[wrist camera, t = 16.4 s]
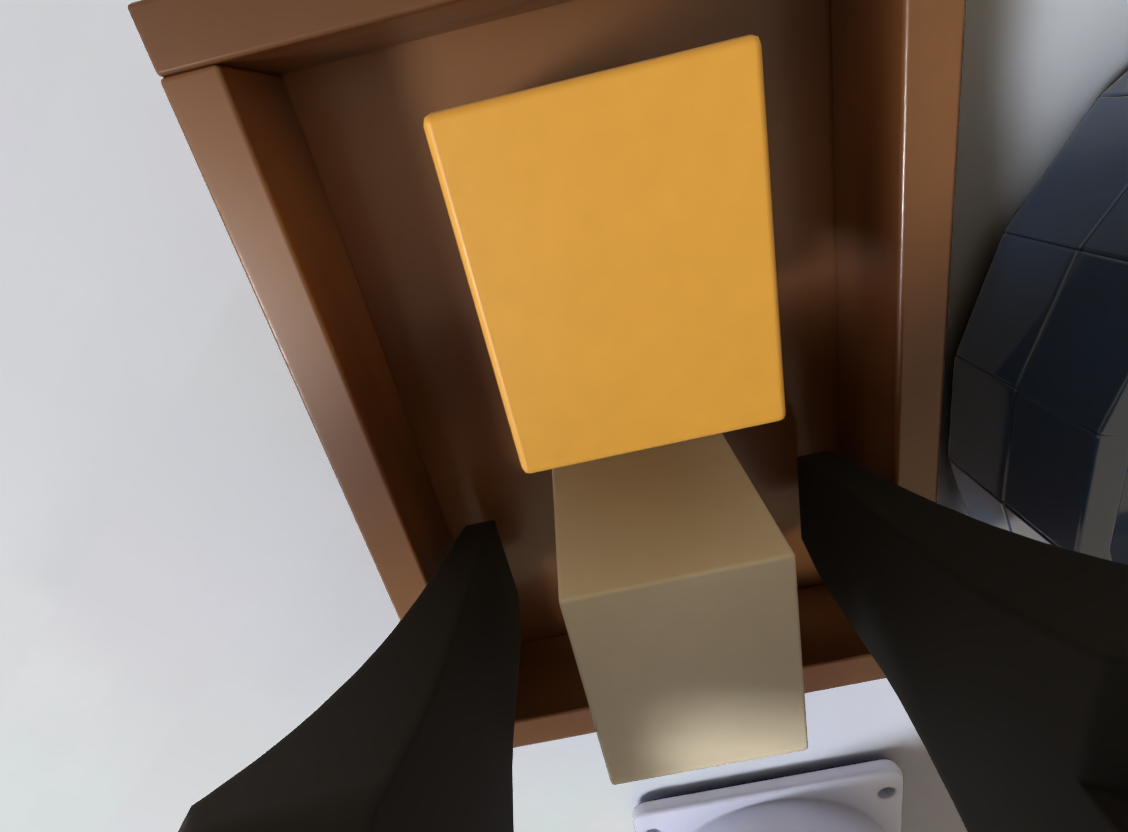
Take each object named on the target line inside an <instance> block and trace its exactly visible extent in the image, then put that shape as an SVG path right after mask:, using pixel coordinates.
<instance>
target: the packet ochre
mask: <svg viewBox="0 0 1128 832" xmlns="http://www.w3.org/2000/svg"><path fill="white" fill-rule="evenodd" d="M423 127H424V131H425V134H426V138H427V141H428V145H429V148H430V151H431V155H432V158H433V162H434V165H435V169H436V172H437V176H438V179H439V183H440V186H441V190H442V193H443V197H444V200H445V203H446V207H447V210H448V214H449V217H450V221H451V224H452V228H453V231H454V235H455V238H456V242H457V245H458V249H459V252H460V256H461V259H462V262H463V266H464V269H465V273H466V276H467V280H468V283H469V287H470V290H471V294H472V297H473V301H474V304H475V308H476V311H477V314H478V318H479V321H480V325H481V328H482V332H483V335H484V339H485V342H486V346H487V349H488V353H489V356H490V360H491V363H492V367H493V370H494V373H495V377H496V380H497V384H498V387H499V391H500V394H501V398H502V401H503V405H504V408H505V412H506V415H507V419H508V422H509V425H510V429H511V432H512V436H513V439H514V443H515V446H516V450H517V453H518V457H519V460H520V464H521V467H522V469H523V470H524V471H525V472H526V473H535V472H539V471H544V470H549V469H553V468H558V467H563V466H568V465H572V464H577V463H582V462H587V461H591V460H596V459H601V458H605V457H610V456H615V455H620V454H624V453H629V452H634V451H639V450H643V449H648V448H653V447H657V446H662V445H667V444H672V443H676V442H681V441H686V440H691V439H695V438H700V437H705V436H709V435H714V434H719V433H724V432H728V431H733V430H738V429H743V428H747V427H752V426H757V425H761V424H766V423H771V422H776V421H780V420H782V419H784V417H785V413H786V409H785V394H784V379H783V363H782V348H781V333H780V318H779V303H778V288H777V272H776V257H775V242H774V227H773V212H772V197H771V181H770V166H769V151H768V136H767V121H766V106H765V90H764V75H763V60H762V45H761V42H760V40H759V37H758V36H755V35H746V36H742V37H738V38H734V39H730V40H726V41H721V42H717V43H713V44H709V45H705V46H701V47H697V48H693V49H689V50H685V51H681V52H677V53H673V54H669V55H664V56H660V57H656V58H652V59H648V60H644V61H640V62H636V63H632V64H628V65H624V66H620V67H616V68H612V69H607V70H603V71H599V72H595V73H591V74H587V75H583V76H579V77H575V78H571V79H567V80H563V81H559V82H555V83H550V84H546V85H542V86H538V87H534V88H530V89H526V90H522V91H518V92H514V93H510V94H506V95H502V96H498V97H493V98H489V99H485V100H481V101H477V102H473V103H469V104H465V105H461V106H457V107H453V108H449V109H445V110H440V111H436V112H432V113H430V114H428V115H427V116H426V117H425V118H424V124H423Z"/></svg>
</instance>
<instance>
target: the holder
mask: <svg viewBox="0 0 1128 832" xmlns="http://www.w3.org/2000/svg"><path fill="white" fill-rule="evenodd" d="M128 9H129V12H130V14H131V16H132V18H133V21H134V23H135V25H136V27H137V30H138V32H139V34H140V36H141V39H142V41H143V43H144V45H145V48H146V50H147V52H148V54H149V57H150V59H151V61H152V63H153V66H154V68H155V70H156V72H157V74H158V75H159V76H161V77H164V78H163V79H162V80H161V83H162V86H163V88H164V90H165V93H166V95H167V97H168V99H169V102H170V104H171V106H172V108H173V111H174V113H175V115H176V117H177V120H178V122H179V124H180V126H181V129H182V131H183V133H184V135H185V138H186V140H187V142H188V144H189V147H190V149H191V151H192V153H193V156H194V158H195V160H196V162H197V165H198V167H199V169H200V171H201V174H202V176H203V178H204V180H205V182H206V185H207V187H208V189H209V191H210V194H211V196H212V198H213V200H214V203H215V205H216V207H217V209H218V212H219V214H220V216H221V218H222V221H223V223H224V225H225V227H226V230H227V232H228V234H229V236H230V239H231V241H232V243H233V245H234V248H235V250H236V252H237V254H238V257H239V259H240V261H241V263H242V266H243V268H244V270H245V272H246V275H247V277H248V279H249V281H250V284H251V286H252V288H253V290H254V293H255V295H256V297H257V299H258V302H259V304H260V306H261V308H262V311H263V313H264V315H265V317H266V320H267V322H268V324H269V326H270V329H271V331H272V333H273V335H274V338H275V340H276V342H277V344H278V347H279V349H280V351H281V353H282V356H283V358H284V360H285V362H286V364H287V367H288V369H289V371H290V373H291V376H292V378H293V380H294V382H295V385H296V387H297V389H298V391H299V394H300V396H301V398H302V400H303V403H304V405H305V407H306V409H307V412H308V414H309V416H310V418H311V421H312V423H313V425H314V427H315V430H316V432H317V434H318V436H319V439H320V441H321V443H322V445H323V448H324V450H325V452H326V454H327V457H328V459H329V461H330V463H331V466H332V468H333V470H334V472H335V475H336V477H337V479H338V481H339V484H340V486H341V488H342V490H343V493H344V495H345V497H346V499H347V502H348V504H349V506H350V508H351V511H352V513H353V515H354V517H355V520H356V522H357V524H358V526H359V529H360V531H361V533H362V535H363V538H364V540H365V542H366V544H367V546H368V549H369V551H370V553H371V555H372V558H373V560H374V562H375V564H376V567H377V569H378V571H379V573H380V576H381V578H382V580H383V582H384V585H385V587H386V589H387V591H388V594H389V596H390V598H391V600H392V603H393V605H394V607H395V609H396V612H397V614H398V616H399V618H400V621H401V620H402V618H403V617H404V616H405V614H406V613H407V612H408V610H409V609H410V608H411V606H412V605H413V604H414V602H415V601H416V600H417V598H418V597H419V596H420V594H421V593H422V591H423V590H424V588H425V587H426V585H427V584H428V582H429V581H430V579H431V578H432V576H433V575H434V573H435V572H436V570H437V569H438V567H439V566H440V564H441V563H442V561H443V560H444V558H445V557H446V555H447V553H448V552H449V550H450V549H451V547H452V546H453V544H454V542H455V541H456V539H457V538H458V536H459V535H460V533H461V532H462V530H463V529H464V527H465V526H466V525H471V524H476V523H481V522H486V521H491V520H495V524H496V527H497V530H498V533H499V536H500V539H501V542H502V545H503V548H504V551H505V554H506V557H507V560H508V564H509V567H510V570H511V573H512V576H513V579H514V582H515V585H516V588H517V591H518V594H519V608H520V627H521V648H520V662H519V676H518V688H517V701H516V713H515V726H514V738H513V748H515V747H520V746H525V745H531V744H536V743H541V742H547V741H552V740H557V739H563V738H568V737H573V736H579V735H584V734H589V733H595V732H596V728H595V725H594V721H593V718H592V714H591V711H590V708H589V704H588V701H587V697H586V694H585V690H584V687H583V683H582V680H581V677H580V673H579V670H578V666H577V663H576V659H575V656H574V652H573V649H572V646H571V642H570V639H569V635H568V632H567V628H566V625H565V621H564V618H563V615H562V611H561V608H560V604H559V594H558V575H557V556H556V537H555V518H554V499H553V480H552V469H549V470H544V471H539V472H535V473H526V472H525V471H524V470H523V469H522V467H521V464H520V460H519V457H518V453H517V450H516V446H515V443H514V439H513V436H512V432H511V429H510V425H509V422H508V419H507V415H506V412H505V408H504V405H503V401H502V398H501V394H500V391H499V387H498V384H497V380H496V377H495V373H494V370H493V367H492V363H491V360H490V356H489V353H488V349H487V346H486V342H485V339H484V335H483V332H482V328H481V325H480V321H479V318H478V314H477V311H476V308H475V304H474V301H473V297H472V294H471V290H470V287H469V283H468V280H467V276H466V273H465V269H464V266H463V262H462V259H461V256H460V252H459V249H458V245H457V242H456V238H455V235H454V231H453V228H452V224H451V221H450V217H449V214H448V210H447V207H446V203H445V200H444V197H443V193H442V190H441V186H440V183H439V179H438V176H437V172H436V169H435V165H434V162H433V158H432V155H431V151H430V148H429V145H428V141H427V138H426V134H425V131H424V127H423V124H424V118H425V117H426V116H427V115H428V114H430V113H432V112H436V111H440V110H445V109H449V108H453V107H457V106H461V105H465V104H469V103H473V102H477V101H481V100H485V99H489V98H493V97H498V96H502V95H506V94H510V93H514V92H518V91H522V90H526V89H530V88H534V87H538V86H542V85H546V84H550V83H555V82H559V81H563V80H567V79H571V78H575V77H579V76H583V75H587V74H591V73H595V72H599V71H603V70H607V69H612V68H616V67H620V66H624V65H628V64H632V63H636V62H640V61H644V60H648V59H652V58H656V57H660V56H664V55H669V54H673V53H677V52H681V51H685V50H689V49H693V48H697V47H701V46H705V45H709V44H713V43H717V42H721V41H726V40H730V39H734V38H738V37H742V36H746V35H755V36H758V37H759V40H760V42H761V45H762V60H763V75H764V90H765V106H766V121H767V136H768V151H769V166H770V181H771V197H772V212H773V227H774V242H775V257H776V272H777V288H778V303H779V318H780V333H781V348H782V363H783V379H784V394H785V409H786V413H785V417H784V419H782V420H780V421H776V422H771V423H766V424H761V425H757V426H752V427H747V428H743V429H738V430H733V431H728V432H724V433H722V434H723V436H724V438H725V439H726V441H727V443H728V444H729V446H730V448H731V449H732V451H733V453H734V454H735V456H736V458H737V459H738V461H739V463H740V464H741V466H742V468H743V469H744V471H745V473H746V474H747V476H748V478H749V479H750V481H751V482H752V484H753V486H754V487H755V489H756V491H757V492H758V494H759V496H760V497H761V499H762V501H763V502H764V504H765V506H766V507H767V509H768V511H769V512H770V514H771V516H772V517H773V519H774V521H775V522H776V524H777V526H778V527H779V529H780V531H781V532H782V534H783V536H784V537H785V539H786V541H787V542H788V544H789V546H790V547H791V549H792V551H793V552H794V554H795V561H796V576H797V591H798V606H799V621H800V636H801V651H802V666H803V681H804V693H808V692H813V691H819V690H824V689H829V688H835V687H840V686H845V685H851V684H856V683H861V682H867V681H872V680H877V679H883V678H886V676H885V674H884V673H883V671H882V670H881V668H880V667H879V665H878V664H877V662H876V661H875V659H874V658H873V657H872V655H871V654H870V652H869V651H868V649H867V648H866V646H865V645H864V643H863V642H862V640H861V639H860V637H859V636H858V634H857V633H856V631H855V630H854V628H853V627H852V625H851V624H850V622H849V621H848V619H847V618H846V616H845V615H844V613H843V612H842V610H841V609H840V607H839V606H838V604H837V603H836V601H835V600H834V598H833V597H832V595H831V594H830V592H829V591H828V589H827V588H826V586H825V585H824V583H823V581H822V580H821V578H820V576H819V574H818V572H817V570H816V568H815V566H814V564H813V562H812V560H811V558H810V556H809V553H808V551H807V549H806V547H805V545H804V543H803V541H802V539H801V523H800V506H799V489H798V472H797V457H798V456H803V455H808V454H813V453H818V452H822V451H830V452H832V453H834V454H836V455H838V456H840V457H843V458H845V459H847V460H849V461H851V462H853V463H855V464H857V465H859V466H861V467H863V468H865V469H867V470H869V471H871V472H873V473H875V474H877V475H879V476H881V477H883V478H885V479H887V480H889V481H891V482H893V483H895V484H897V485H899V486H901V487H903V488H905V489H907V490H909V491H911V492H914V493H916V494H918V495H920V496H922V497H925V498H927V499H929V500H931V501H933V502H936V503H937V488H938V471H939V454H940V437H941V420H942V402H943V385H944V368H945V351H946V334H947V317H948V300H949V283H950V265H951V248H952V231H953V214H954V197H955V180H956V163H957V146H958V128H959V111H960V94H961V77H962V60H963V43H964V26H965V9H966V0H141V1H137V2H133V3H131V4H130V5H128Z"/></svg>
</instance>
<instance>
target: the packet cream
mask: <svg viewBox="0 0 1128 832" xmlns="http://www.w3.org/2000/svg"><path fill="white" fill-rule="evenodd" d="M552 480H553V499H554V518H555V537H556V556H557V575H558V594H559V604H560V608H561V611H562V615H563V618H564V621H565V625H566V628H567V632H568V635H569V639H570V642H571V646H572V649H573V652H574V656H575V659H576V663H577V666H578V670H579V673H580V677H581V680H582V683H583V687H584V690H585V694H586V697H587V701H588V704H589V708H590V711H591V714H592V718H593V721H594V725H595V728H596V732H597V735H598V739H599V742H600V745H601V749H602V752H603V756H604V759H605V763H606V766H607V770H608V773H609V776H610V780H611V782H612V784H614V785H616V784H621V783H627V782H632V781H638V780H643V779H649V778H654V777H660V776H665V775H671V774H676V773H681V772H687V771H692V770H698V769H703V768H709V767H714V766H720V765H725V764H731V763H736V762H742V761H747V760H753V759H758V758H763V757H769V756H774V755H780V754H785V753H791V752H796V751H802V750H806V749H807V748H808V741H807V726H806V711H805V696H804V681H803V666H802V651H801V636H800V621H799V606H798V591H797V576H796V561H795V554H794V552H793V551H792V549H791V547H790V546H789V544H788V542H787V541H786V539H785V537H784V536H783V534H782V532H781V531H780V529H779V527H778V526H777V524H776V522H775V521H774V519H773V517H772V516H771V514H770V512H769V511H768V509H767V507H766V506H765V504H764V502H763V501H762V499H761V497H760V496H759V494H758V492H757V491H756V489H755V487H754V486H753V484H752V482H751V481H750V479H749V478H748V476H747V474H746V473H745V471H744V469H743V468H742V466H741V464H740V463H739V461H738V459H737V458H736V456H735V454H734V453H733V451H732V449H731V448H730V446H729V444H728V443H727V441H726V439H725V438H724V436H723V434H722V433H719V434H714V435H709V436H705V437H700V438H695V439H691V440H686V441H681V442H676V443H672V444H667V445H662V446H657V447H653V448H648V449H643V450H639V451H634V452H629V453H624V454H620V455H615V456H610V457H605V458H601V459H596V460H591V461H587V462H582V463H577V464H572V465H568V466H563V467H558V468H553V469H552Z"/></svg>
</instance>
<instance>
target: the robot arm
mask: <svg viewBox="0 0 1128 832" xmlns="http://www.w3.org/2000/svg"><path fill="white" fill-rule="evenodd" d="M797 472H798V489H799V506H800V523H801V539H802V541H803V543H804V545H805V547H806V549H807V551H808V553H809V556H810V558H811V560H812V562H813V564H814V566H815V568H816V570H817V572H818V574H819V576H820V578H821V580H822V581H823V583H824V585H825V586H826V588H827V589H828V591H829V592H830V594H831V595H832V597H833V598H834V600H835V601H836V603H837V604H838V606H839V607H840V609H841V610H842V612H843V613H844V615H845V616H846V618H847V619H848V621H849V622H850V624H851V625H852V627H853V628H854V630H855V631H856V633H857V634H858V636H859V637H860V639H861V640H862V642H863V643H864V645H865V646H866V648H867V649H868V651H869V652H870V654H871V655H872V657H873V658H874V659H875V661H876V662H877V664H878V665H879V667H880V668H881V670H882V671H883V673H884V674H885V676H886V678H887V679H888V681H889V682H890V684H891V686H892V687H893V689H894V691H895V692H896V694H897V696H898V697H899V699H900V701H901V703H902V705H903V706H904V708H905V710H906V712H907V714H908V716H909V718H910V720H911V721H912V723H913V725H914V727H915V729H916V731H917V733H918V734H919V736H920V738H921V740H922V742H923V744H924V746H925V748H926V750H927V752H928V753H929V755H930V757H931V759H932V761H933V763H934V765H935V767H936V769H937V771H938V773H939V775H940V777H941V779H942V781H943V783H944V785H945V787H946V789H947V791H948V793H949V795H950V797H951V799H952V800H953V802H954V805H955V807H956V809H957V811H958V813H959V815H960V817H961V819H962V821H963V823H964V825H965V827H966V829H967V831H968V832H1128V565H1127V564H1123V563H1118V562H1114V561H1110V560H1106V559H1102V558H1098V557H1095V556H1091V555H1087V554H1083V553H1080V552H1076V551H1072V550H1068V549H1065V548H1061V547H1058V546H1054V545H1051V544H1047V543H1044V542H1041V541H1037V540H1034V539H1031V538H1028V537H1025V536H1022V535H1019V534H1016V533H1013V532H1011V531H1008V530H1005V529H1002V528H999V527H996V526H993V525H990V524H988V523H985V522H982V521H980V520H977V519H974V518H972V517H969V516H967V515H964V514H962V513H960V512H957V511H955V510H952V509H950V508H948V507H945V506H943V505H940V504H938V503H936V502H933V501H931V500H929V499H927V498H925V497H922V496H920V495H918V494H916V493H914V492H911V491H909V490H907V489H905V488H903V487H901V486H899V485H897V484H895V483H893V482H891V481H889V480H887V479H885V478H883V477H881V476H879V475H877V474H875V473H873V472H871V471H869V470H867V469H865V468H863V467H861V466H859V465H857V464H855V463H853V462H851V461H849V460H847V459H845V458H843V457H840V456H838V455H836V454H834V453H832V452H830V451H822V452H818V453H813V454H808V455H803V456H798V457H797ZM520 648H521V627H520V608H519V594H518V591H517V588H516V585H515V582H514V579H513V576H512V573H511V570H510V567H509V564H508V560H507V557H506V554H505V551H504V548H503V545H502V542H501V539H500V536H499V533H498V530H497V527H496V524H495V520H491V521H486V522H481V523H476V524H471V525H466V526H465V527H464V529H463V530H462V532H461V533H460V535H459V536H458V538H457V539H456V541H455V542H454V544H453V546H452V547H451V549H450V550H449V552H448V553H447V555H446V557H445V558H444V560H443V561H442V563H441V564H440V566H439V567H438V569H437V570H436V572H435V573H434V575H433V576H432V578H431V579H430V581H429V582H428V584H427V585H426V587H425V588H424V590H423V591H422V593H421V594H420V596H419V597H418V598H417V600H416V601H415V602H414V604H413V605H412V606H411V608H410V609H409V610H408V612H407V613H406V614H405V616H404V617H403V618H402V620H401V621H400V622H399V624H398V625H397V626H396V628H395V629H394V630H393V631H392V633H391V634H390V635H389V636H388V637H387V639H386V640H385V641H384V642H383V643H382V644H381V646H380V647H379V648H378V649H377V650H376V651H375V652H374V653H373V654H372V656H371V657H370V658H369V659H368V660H367V661H366V662H365V663H364V664H363V665H362V666H361V668H360V669H359V670H358V671H357V672H356V673H355V674H354V675H353V676H352V677H351V678H350V679H349V680H348V681H347V682H346V683H344V684H343V685H342V686H341V687H340V688H339V689H338V690H337V691H336V692H335V693H334V694H333V695H332V696H331V697H330V698H329V699H328V700H327V701H326V702H325V703H324V704H323V705H322V706H320V707H319V708H318V709H317V710H316V711H315V712H314V713H313V714H312V715H311V716H309V717H308V718H307V719H306V720H305V721H304V722H302V723H301V724H300V725H299V726H298V727H297V728H295V729H294V730H293V731H292V732H291V733H290V734H288V735H287V736H286V737H285V738H283V739H282V740H281V741H280V742H278V743H277V744H276V745H275V746H273V747H272V748H271V749H270V750H269V751H267V752H266V753H265V754H263V755H262V756H261V757H259V758H258V759H257V760H256V761H254V762H253V763H252V764H250V765H249V766H247V767H246V768H245V769H243V770H242V771H241V772H239V773H238V774H236V775H235V776H234V777H232V778H231V779H229V780H228V781H227V782H225V783H224V784H222V785H221V786H220V787H218V788H217V789H215V790H214V791H213V792H211V793H210V794H209V795H207V796H206V797H204V798H203V799H201V800H200V801H198V802H197V803H195V804H194V805H192V806H191V808H190V810H189V812H188V814H187V816H186V817H185V819H184V821H183V823H182V825H181V827H180V829H179V831H178V832H514V831H513V787H512V759H513V738H514V726H515V713H516V701H517V688H518V676H519V662H520ZM902 795H903V775H902V773H901V771H900V769H899V767H898V766H897V764H896V763H895V762H893V761H891V760H887V759H883V760H875V761H870V762H864V763H859V764H853V765H848V766H842V767H836V768H831V769H825V770H820V771H814V772H809V773H803V774H798V775H792V776H787V777H781V778H776V779H770V780H764V781H759V782H753V783H748V784H742V785H737V786H731V787H726V788H720V789H715V790H709V791H704V792H698V793H692V794H687V795H681V796H676V797H670V798H665V799H659V800H654V801H648V802H644V803H641V804H639V805H638V806H636V807H635V808H634V810H633V811H632V818H633V825H634V829H635V832H901V820H902Z"/></svg>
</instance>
